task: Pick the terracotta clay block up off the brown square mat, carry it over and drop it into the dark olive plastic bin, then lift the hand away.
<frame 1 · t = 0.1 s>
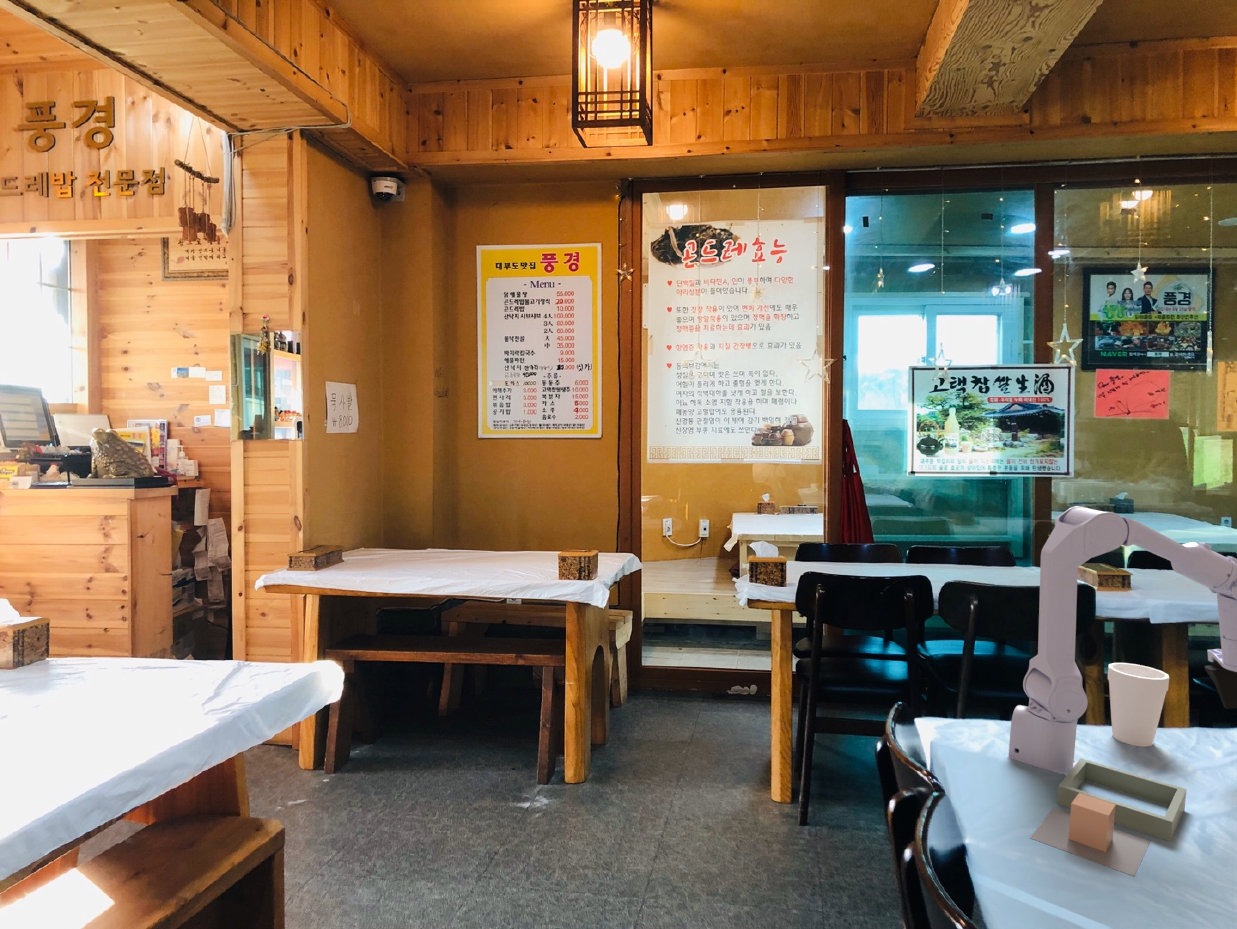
clay block: (1090, 839, 106), point 1 cm above the table, touching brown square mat
foam cup: (1132, 740, 144), on the table
olive bin: (1120, 810, 116), on the table
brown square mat: (1090, 845, 106), on the table
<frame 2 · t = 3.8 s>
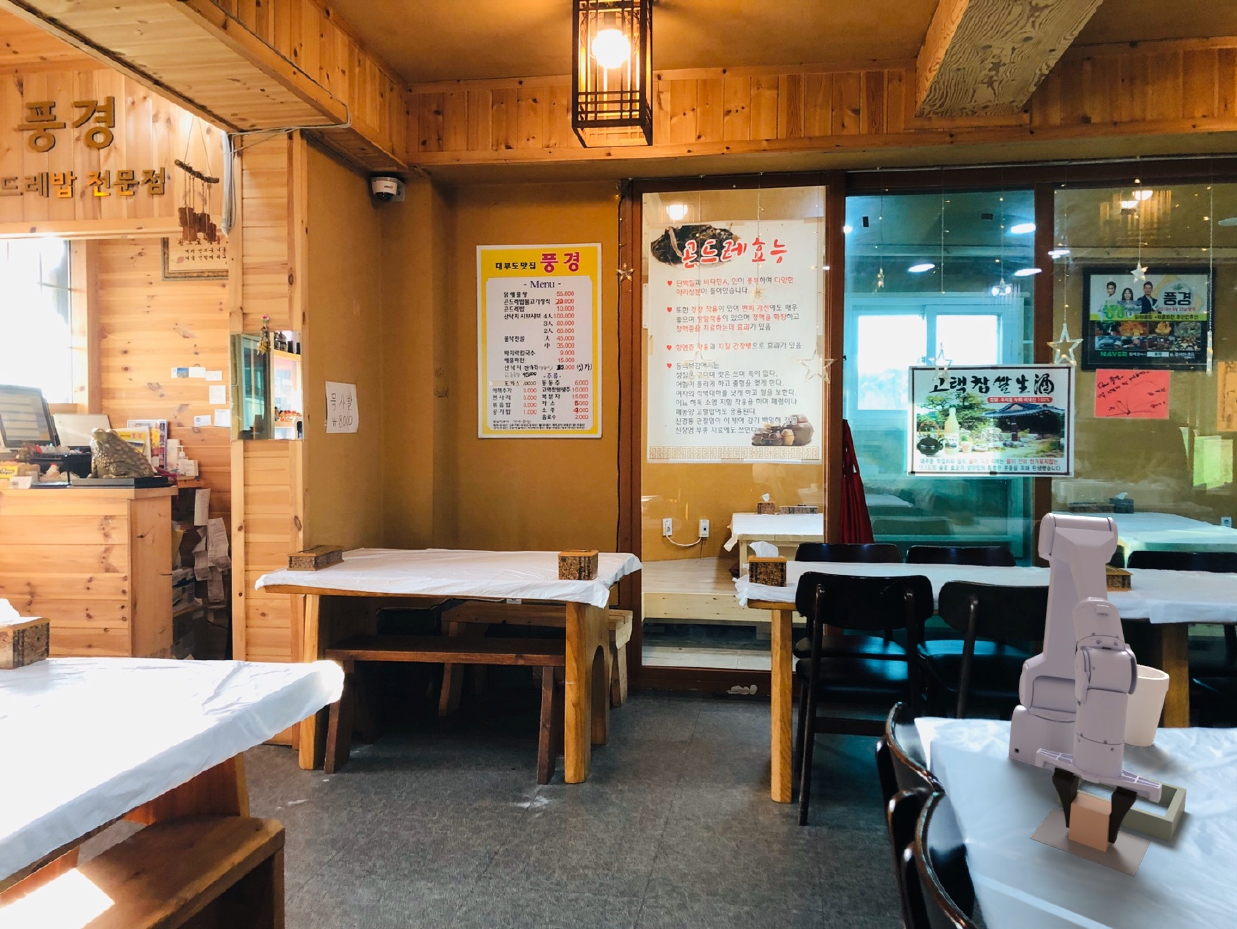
hand: (1091, 833, 106), 2 cm above the table, tool pointing down, fingers closed on clay block, 4 cm apart
clay block: (1090, 839, 106), point 1 cm above the table, touching gripper, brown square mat
everything else where it was.
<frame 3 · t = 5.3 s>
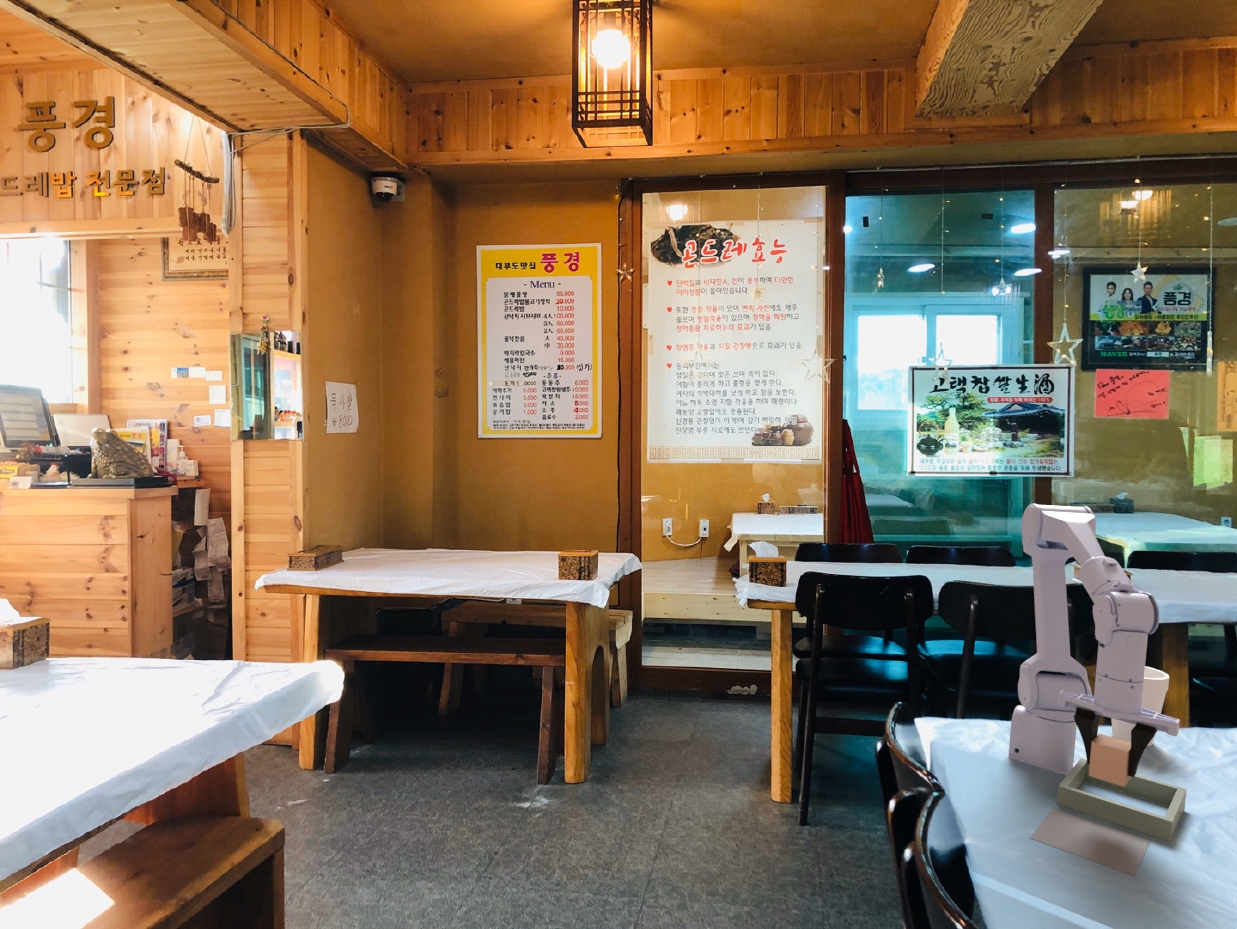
hand: (1111, 768, 111), 8 cm above the table, tool pointing down, fingers closed on clay block, 4 cm apart
clay block: (1110, 776, 111), point 7 cm above the table, touching gripper
everything else where it was.
when the fingers open (4 cm above the table, at t = 7.0 s): clay block drops 3 cm, resting on olive bin.
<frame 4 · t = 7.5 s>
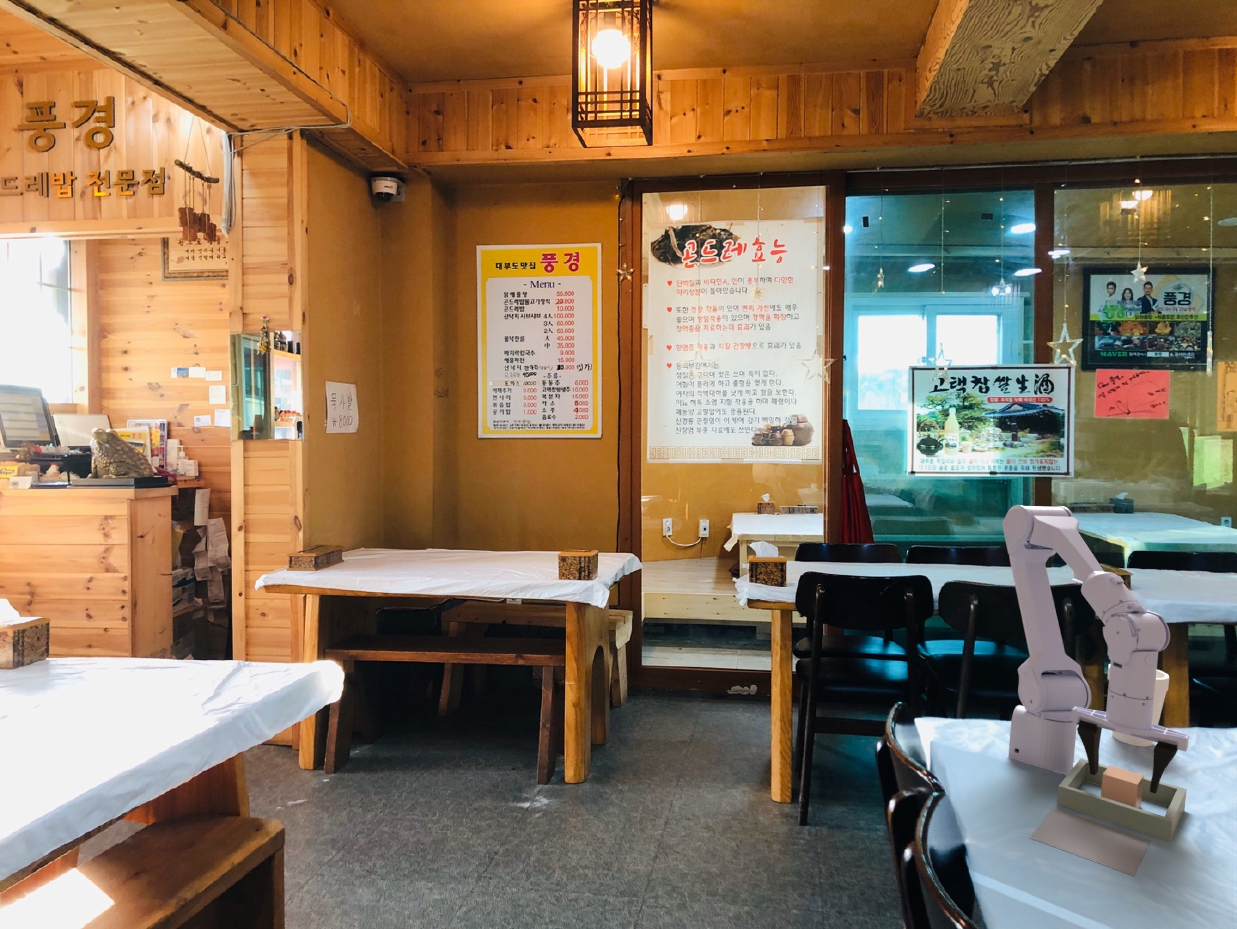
hand: (1123, 781, 116), 4 cm above the table, tool pointing down, fingers open, 7 cm apart
clay block: (1120, 807, 116), point 1 cm above the table, touching olive bin
everything else where it was.
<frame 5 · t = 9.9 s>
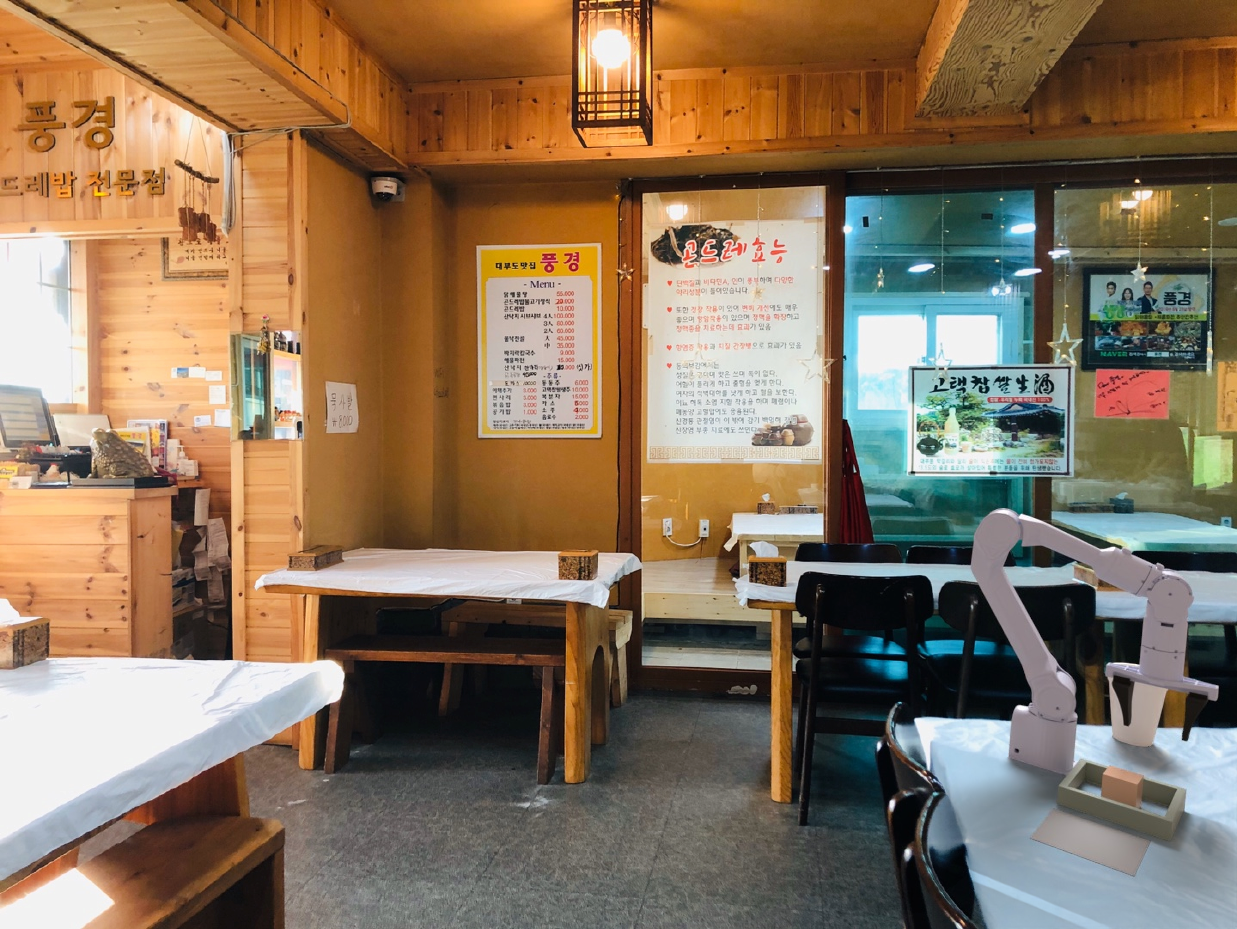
hand: (1155, 731, 123), 9 cm above the table, tool pointing down, fingers open, 7 cm apart
nothing on the table moved.
at the end: clay block inside the target area on the olive bin (0.4 cm from its centre), point 0.6 cm above the olive bin's base; the gripper is holding nothing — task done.
